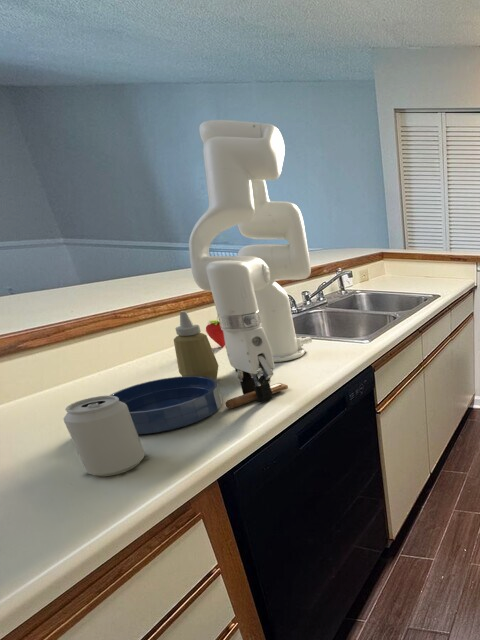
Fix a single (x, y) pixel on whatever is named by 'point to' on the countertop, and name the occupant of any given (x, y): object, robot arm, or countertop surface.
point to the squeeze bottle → (194, 350)
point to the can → (104, 435)
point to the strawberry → (216, 332)
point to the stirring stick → (252, 396)
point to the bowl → (170, 402)
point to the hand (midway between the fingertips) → (258, 397)
